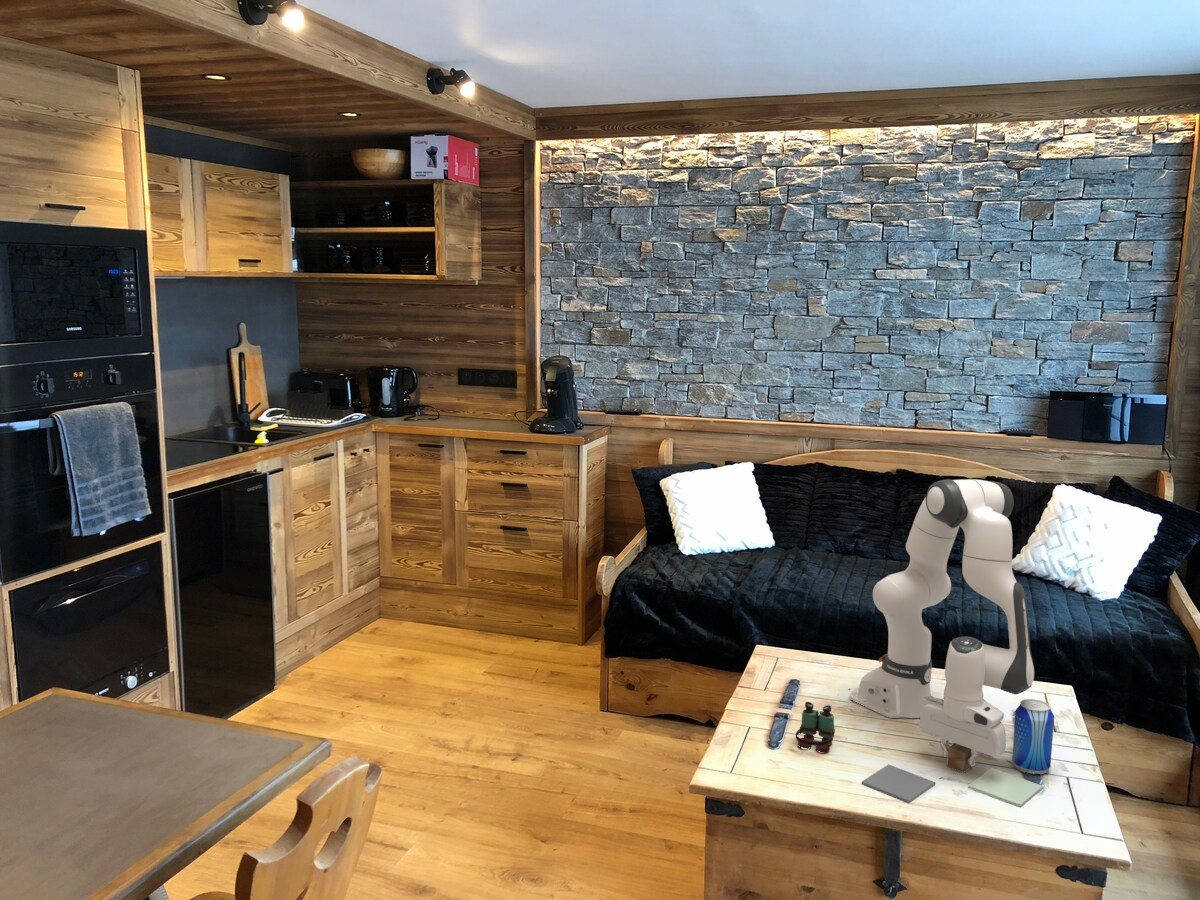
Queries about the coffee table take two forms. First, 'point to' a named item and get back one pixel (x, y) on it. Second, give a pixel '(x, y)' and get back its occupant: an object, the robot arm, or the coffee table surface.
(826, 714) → the binoculars
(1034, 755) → the beer can
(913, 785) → the slate tile
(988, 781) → the sage tile
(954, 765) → the walnut block
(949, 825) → the coffee table surface
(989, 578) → the robot arm
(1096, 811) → the coffee table surface
